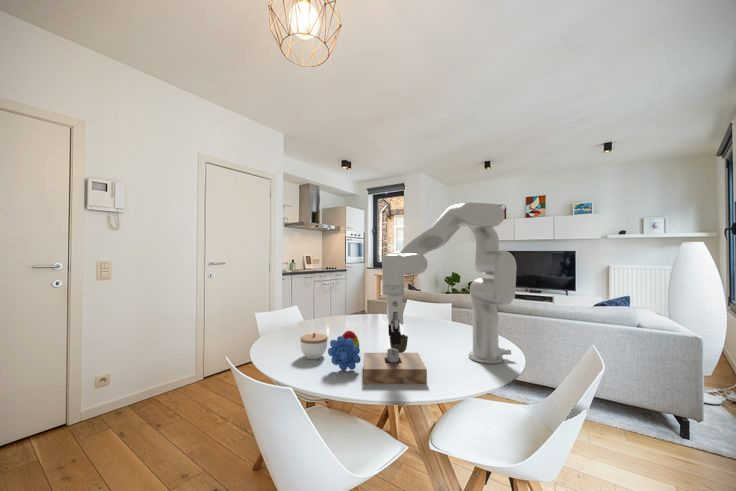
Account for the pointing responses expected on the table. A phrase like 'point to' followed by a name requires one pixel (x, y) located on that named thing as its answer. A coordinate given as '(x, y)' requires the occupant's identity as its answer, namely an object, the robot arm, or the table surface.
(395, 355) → the steel peg
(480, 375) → the table surface
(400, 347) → the cup
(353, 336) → the decorative egg
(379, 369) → the walnut block
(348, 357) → the grapes
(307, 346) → the lidded jar
